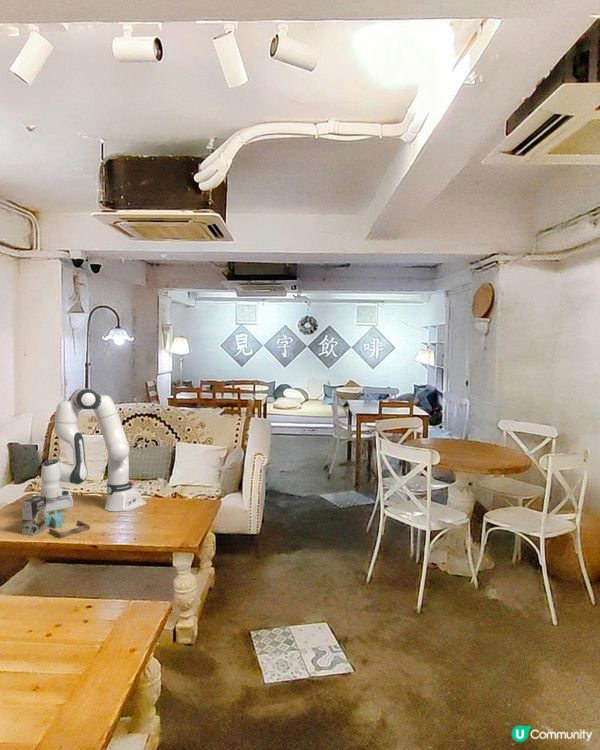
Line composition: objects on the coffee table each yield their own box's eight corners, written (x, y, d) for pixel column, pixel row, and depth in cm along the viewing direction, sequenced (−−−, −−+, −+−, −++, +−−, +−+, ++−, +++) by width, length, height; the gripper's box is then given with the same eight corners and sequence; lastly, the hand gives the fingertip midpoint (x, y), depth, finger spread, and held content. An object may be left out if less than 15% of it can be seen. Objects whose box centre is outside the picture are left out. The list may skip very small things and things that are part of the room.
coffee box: (33, 535, 237) (33, 502, 236) (21, 534, 238) (21, 501, 237) (47, 528, 246) (47, 496, 245) (35, 527, 247) (35, 495, 246)
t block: (62, 520, 257) (62, 512, 257) (68, 525, 250) (68, 516, 250) (43, 524, 251) (43, 516, 250) (49, 530, 244) (49, 521, 244)
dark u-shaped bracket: (79, 524, 252) (79, 520, 252) (89, 529, 247) (89, 525, 246) (49, 533, 240) (49, 529, 240) (59, 538, 235) (59, 534, 234)
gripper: (29, 497, 244) (29, 525, 245) (74, 490, 257) (74, 517, 258) (26, 494, 249) (27, 521, 250) (70, 487, 262) (71, 513, 263)
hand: (51, 519), depth 254 cm, fingers closed
